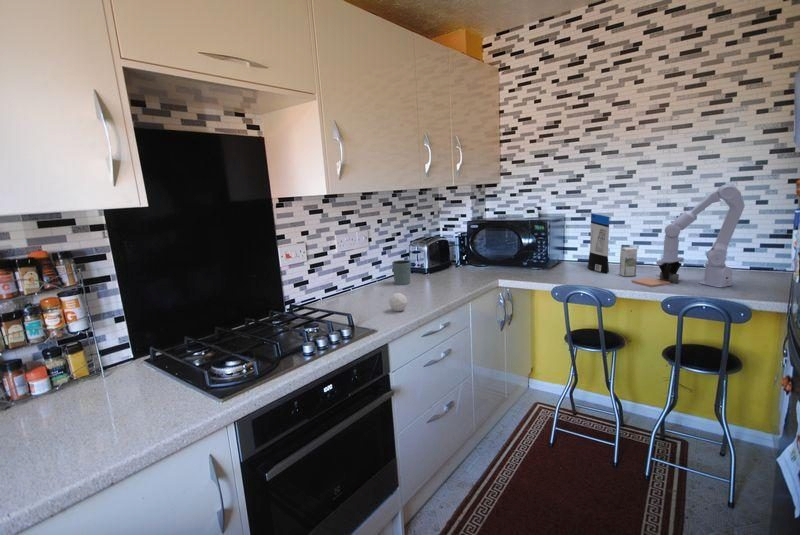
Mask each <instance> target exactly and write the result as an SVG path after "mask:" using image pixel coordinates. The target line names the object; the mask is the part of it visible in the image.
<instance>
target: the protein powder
mask: <svg viewBox="0 0 800 535" xmlns="http://www.w3.org/2000/svg"><path fill="white" fill-rule="evenodd" d="M590 215H591V216H590V241H589V242H590V244H589V245H590V246H589V247H590V248H589V254H588V263H587V269H588V270H589V271H592V272H595V273H600V274H607V275H608V274H609V273H610V269H609V268H610V267H609V240H610V239H609V238H610V236H609V235H610V234H609V233H610V216H606V215H601V214H598V213H597V214H596V213H590Z"/></svg>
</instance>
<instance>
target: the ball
mask: <svg viewBox="0 0 800 535" xmlns="http://www.w3.org/2000/svg"><path fill="white" fill-rule="evenodd" d="M388 304H389V306H390V308H391V310H393V311H395V312H400V311H401V312H402V311H403V310H405V309H406V308H407V306H408V298H407V297H406V295H404V294H403V293H401V292H397V293H393V295H391V296H390V298H389V300H388Z"/></svg>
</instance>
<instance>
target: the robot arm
mask: <svg viewBox="0 0 800 535" xmlns="http://www.w3.org/2000/svg"><path fill="white" fill-rule="evenodd" d="M721 199H722V200H723V201H724V202H725V203H726V205H727V206H728V207H729V208H728V210H727V213H726V216H725V218H724V220H723V223H722V225H721V227H720V229H719V232H718V234H717V237H716V239H715V241H714V243H713V244H712V247H711V248H710V249H709V250H708V251H707V252H706V259H707V262H705V266H704V275H703V281H699V282H698V284H699V285H700V284H701V285H705V286H710V287H715V288H725V287H730V286H733V284H732V280H733V279H732V278H733V269H732V268H731V267H729V266H727V265H726V261H727V257H726V255H727V252H728V247H729V244H730V242H731V240H732V238H733V235H734V232H735V230H736V228H737V226H738V223H739V221H740V218H741V217H742V213H743V211H744V209H745V202H744V199H743V196H742V192H741V191H740V189H738V188H737V186H735V185H733V184H729V183H725V184H723V185H720V186H719V187H718V189H715V190H713V191H712V192H710V193H709V194H708V195H706V197H704V198H703V199H702V200H701V201H699V202H698V204H696V205H695V206H694V207H692V209H691V210H686V211H683V212H680V213H679V216H677V218H675V219H673V220H671V221H670V224H667V225H666V226H665V227H664V234H665V235H664V239H663V255H662V256H663V257H661V258H660V259H658V260H657V259H656V265H657V266H658V268H659V269H660V272H662V275H663V279H668V278H669V272H670V273H675V274H678V271H679V270H680V269H681V268H680V267H681V266H682V264H683V262H685V261H684V260H685V257H680V256H679V245H680V244H679V243H680V240H679V237H680V236H679V235H680V234H681V231H684V230H685V229H687V227H689V226H690V225H691V224H692V223H694V222H695V221H696V218H697V216H698V215H699V214H701V212H703V211H704V210H705V209H707V208H708V207H709V206H710V205H712V204H715V203H719V202H721V201H722V200H721Z"/></svg>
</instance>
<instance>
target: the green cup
mask: <svg viewBox="0 0 800 535" xmlns="http://www.w3.org/2000/svg"><path fill="white" fill-rule="evenodd" d="M391 262H392V271H393V279H394V282H393V283H394V284H395V285H396V286H406V285H410V284H411V268H412V267H411V266H412V263H411V262H412V261H411V260H407V259H400V260H399V259H398V260H394V261H391Z"/></svg>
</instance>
